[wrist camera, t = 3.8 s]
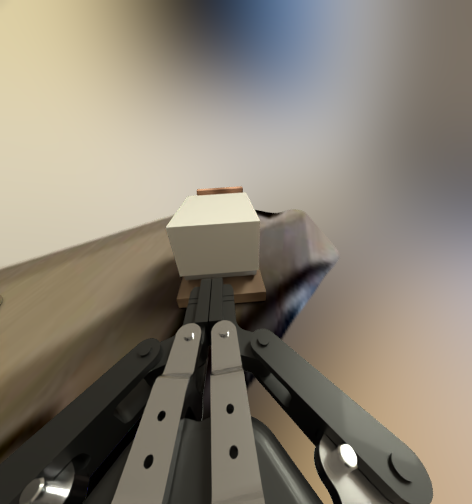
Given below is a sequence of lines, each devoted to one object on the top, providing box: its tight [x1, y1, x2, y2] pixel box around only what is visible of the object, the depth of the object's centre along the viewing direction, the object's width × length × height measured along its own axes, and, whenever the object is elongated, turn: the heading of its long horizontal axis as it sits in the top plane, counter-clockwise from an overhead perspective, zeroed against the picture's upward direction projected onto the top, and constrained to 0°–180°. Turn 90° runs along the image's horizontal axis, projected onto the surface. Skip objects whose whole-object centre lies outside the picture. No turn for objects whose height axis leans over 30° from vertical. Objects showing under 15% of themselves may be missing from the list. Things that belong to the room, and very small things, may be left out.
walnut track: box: [176, 187, 266, 308], centre depth 30 cm, size 10×28×8 cm, turn 4°
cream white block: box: [166, 193, 260, 280], centre depth 24 cm, size 9×12×8 cm
